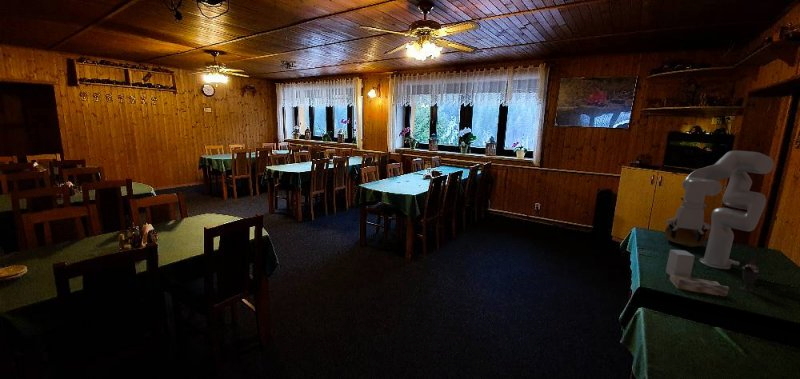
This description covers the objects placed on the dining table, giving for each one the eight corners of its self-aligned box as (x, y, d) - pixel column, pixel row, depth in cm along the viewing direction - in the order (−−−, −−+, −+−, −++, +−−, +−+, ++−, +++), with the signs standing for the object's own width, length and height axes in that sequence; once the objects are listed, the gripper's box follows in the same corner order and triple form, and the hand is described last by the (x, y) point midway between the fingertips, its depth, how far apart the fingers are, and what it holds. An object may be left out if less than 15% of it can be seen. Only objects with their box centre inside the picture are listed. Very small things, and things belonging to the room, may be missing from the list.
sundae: (750, 287, 160) (758, 258, 157) (759, 294, 154) (768, 263, 151) (732, 285, 162) (740, 255, 159) (741, 291, 156) (749, 261, 153)
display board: (715, 286, 160) (717, 277, 159) (726, 296, 151) (729, 287, 150) (669, 279, 166) (671, 270, 166) (677, 288, 157) (679, 279, 156)
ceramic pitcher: (704, 244, 216) (714, 198, 209) (702, 253, 201) (713, 204, 195) (665, 236, 229) (674, 193, 222) (661, 244, 214) (670, 198, 208)
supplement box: (690, 280, 166) (695, 256, 163) (673, 278, 167) (678, 254, 165) (681, 273, 173) (686, 250, 170) (664, 272, 174) (669, 248, 172)
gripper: (711, 206, 163) (703, 239, 166) (667, 201, 169) (660, 234, 172) (719, 209, 156) (710, 244, 160) (673, 204, 162) (666, 238, 165)
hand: (684, 239), depth 166 cm, fingers open, 9 cm apart
